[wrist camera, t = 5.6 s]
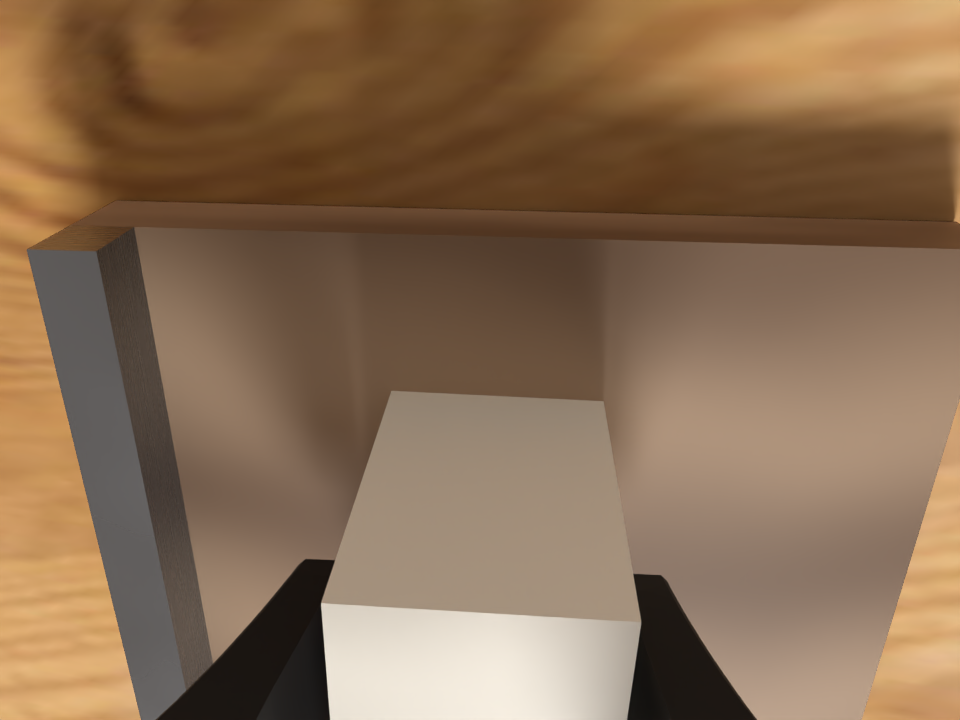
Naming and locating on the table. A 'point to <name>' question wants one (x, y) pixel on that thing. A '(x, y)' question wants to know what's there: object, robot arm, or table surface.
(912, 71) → the table surface
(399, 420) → the carton
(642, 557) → the shelf board
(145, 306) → the rail
